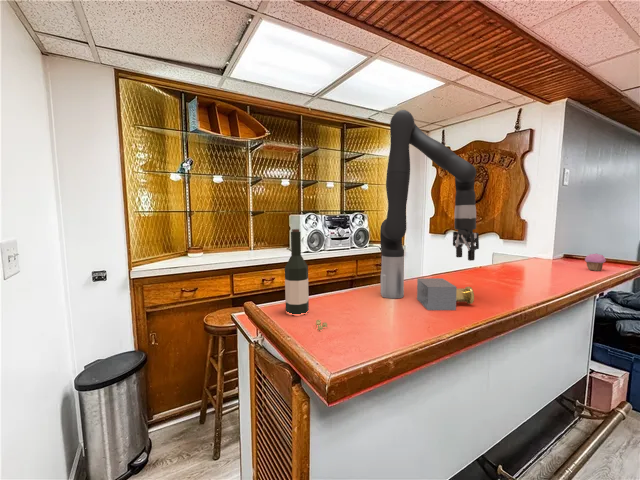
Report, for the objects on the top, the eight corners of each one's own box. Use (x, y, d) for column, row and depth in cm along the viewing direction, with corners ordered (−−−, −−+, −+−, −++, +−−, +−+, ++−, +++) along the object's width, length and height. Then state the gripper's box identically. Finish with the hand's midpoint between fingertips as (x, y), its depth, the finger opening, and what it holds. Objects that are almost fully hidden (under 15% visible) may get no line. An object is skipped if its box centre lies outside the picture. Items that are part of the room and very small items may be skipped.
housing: (427, 310, 107) (428, 286, 107) (417, 299, 121) (417, 278, 120) (455, 310, 107) (456, 286, 106) (442, 299, 121) (442, 278, 120)
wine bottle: (300, 318, 101) (298, 230, 98) (280, 314, 105) (278, 229, 103) (313, 311, 108) (312, 228, 105) (295, 307, 113) (293, 228, 110)
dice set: (318, 325, 96) (318, 319, 96) (330, 328, 93) (330, 322, 93) (307, 329, 92) (307, 323, 92) (320, 334, 89) (320, 327, 89)
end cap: (438, 305, 111) (438, 289, 110) (432, 300, 117) (432, 285, 117) (473, 306, 110) (474, 289, 109) (466, 300, 116) (466, 284, 116)
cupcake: (608, 271, 170) (609, 254, 170) (598, 272, 168) (599, 254, 167) (590, 268, 179) (591, 252, 178) (580, 269, 177) (581, 253, 176)
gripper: (446, 217, 122) (446, 256, 123) (465, 217, 107) (465, 261, 109) (464, 216, 122) (464, 256, 123) (485, 216, 108) (485, 261, 109)
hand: (465, 258), depth 116 cm, fingers open, 8 cm apart
